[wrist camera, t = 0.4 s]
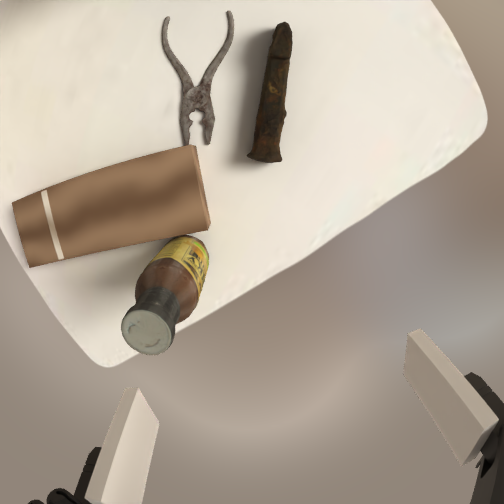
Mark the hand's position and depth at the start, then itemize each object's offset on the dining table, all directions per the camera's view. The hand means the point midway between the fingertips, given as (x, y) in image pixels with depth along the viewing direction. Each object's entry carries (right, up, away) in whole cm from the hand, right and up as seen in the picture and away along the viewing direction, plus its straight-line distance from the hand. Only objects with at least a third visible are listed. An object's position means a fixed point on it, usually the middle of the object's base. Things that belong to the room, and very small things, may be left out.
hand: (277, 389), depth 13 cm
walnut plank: (-21, +12, +24) cm, 34 cm away
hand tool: (+1, +27, +21) cm, 34 cm away
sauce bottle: (-10, +6, +27) cm, 29 cm away
